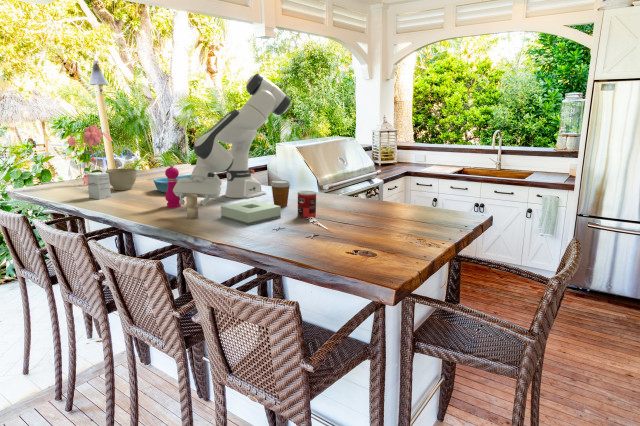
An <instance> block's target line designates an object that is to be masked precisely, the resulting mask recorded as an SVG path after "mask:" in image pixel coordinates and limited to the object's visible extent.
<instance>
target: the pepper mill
mask: <svg viewBox="0 0 640 426" xmlns="http://www.w3.org/2000/svg"><path fill="white" fill-rule="evenodd" d="M164 175H165V177H167V181H168V190H167V192H166V193H165V197H164V198H165V200H166V201H167V203H166V206H167V208H169V209H170V208H171V209H172V208H173V209H175V208H177V209H178V208H180V207H181V206H182V205H181V204H180V203H179V201H180V197H179V196H176V195H175V194H174V192H173V189H174V187H175V185H176V183H177V181H178V178H177V177H178V176H180V172H179V170H178V168H176V167H175V166H174V164H172V163H171V164H169V167H168V168H166V170H165V172H164Z"/></svg>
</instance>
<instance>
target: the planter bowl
mask: <svg viewBox="0 0 640 426" xmlns="http://www.w3.org/2000/svg"><path fill="white" fill-rule="evenodd" d="M137 172H138V170H137V169H136V168H110V169H109V168H108V169H106V170H105V173H109V182H110V186H112V188H113V190H115V191H126V190H127V191H128V190H133V189H132V188H133V185H134V184H135V182H136V180H137V177H138V176H137V175H138V174H137Z"/></svg>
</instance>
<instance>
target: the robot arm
mask: <svg viewBox="0 0 640 426" xmlns="http://www.w3.org/2000/svg"><path fill="white" fill-rule="evenodd" d="M245 89H246V91H247V93H248V95H250V96H251V97H250V98H249V99H248V100H247V101H246V103H245V104H244V105H243V106H242V107H241V108H240V109H233V110H231V111H229V112H228V113H227V114H225V115H224V116H223V117H222V118H220V119H219V121H218V122H216V123H215V124H214V125H213V126H212V127H211V128H210V129H209V130H207V131H206V132H205V133H203V134H202V135H200V136H199V137H198V138H197V139H196V140H195V141H194V143H193V149H194V153H195V155H196V156H197V159H196V162H195V166H194V167H193V170H192V171H191V172H192V173H191V174H190V175H191V177H182V178H180V179H178V181H177V183H176V185H175V187H174V189H173V192H174V194H175V195H176V196H179V197H180V201H179V203H180V204H181V206H183V205H185V203H186V200H185V197H186V195H187V194H197V198H202V199H203V200H200V203H199V205H200V206H201V207H205V206H206V204H207V202H209V201H210V199H218V198H219V197H220V195H221V190H222V188H221V186H222V184H223V183H222V181H221V178H220V177H219V176H218V173H225V172H226V189H225V194H224V197H227V198H230V199H231V198H233V199H235V198H236V199H243V198H244V199H252V198H254V197H255V198H256V197H259V196H264V195H266V191H264V190H262V183H260V181H258V180H257V179H256V178H254V177H253V176H252V174H253V175H254V174H255V170H254V169H249V153H250V149H251V146H252V143H253V141H254V140H255V139H256V137H257V133H258V131H257V130H259V129H260V128H261V127H262V126H263V125H264V124H265V122H266V121H267V120H268V118H269V116H270V115H271V114H275V115H276V116H282V115H283V114H285V113H286V112H287V111H289V108H290V105H291V98H290V97H289V95H287V94H285V92H284V91H283V89H281V88H279V86H278V85H276V84H274V82H272V81H271V80H269V79H268V78H266V77H265V75H263V74H261V73H255V74H254V75H251V76H250V77H249V79H248V80H247V83H246V85H245ZM218 141H219V142H220V143H219V142H218ZM221 143H223V144H228V145H232V146H231V148H230V150H228V149H226V148H225V147H224V146H223V145H222V144H221Z"/></svg>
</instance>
